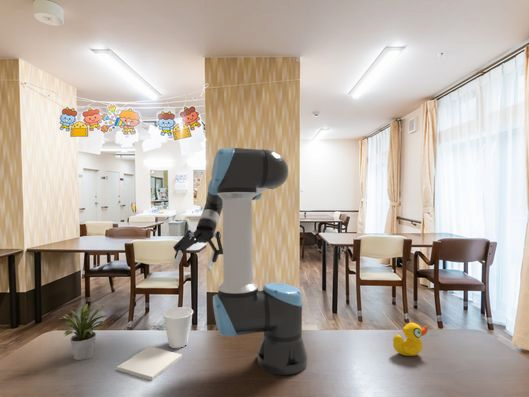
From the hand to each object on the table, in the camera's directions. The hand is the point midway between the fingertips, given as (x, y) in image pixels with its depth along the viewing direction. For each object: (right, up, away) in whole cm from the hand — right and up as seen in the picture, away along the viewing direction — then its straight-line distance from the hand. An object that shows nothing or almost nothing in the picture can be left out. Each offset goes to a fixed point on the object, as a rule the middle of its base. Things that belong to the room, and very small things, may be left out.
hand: (191, 268), depth 119 cm
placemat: (-7, -24, -22) cm, 34 cm away
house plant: (-30, -24, -19) cm, 43 cm away
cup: (-2, -24, -10) cm, 26 cm away
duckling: (+73, -24, -16) cm, 79 cm away
